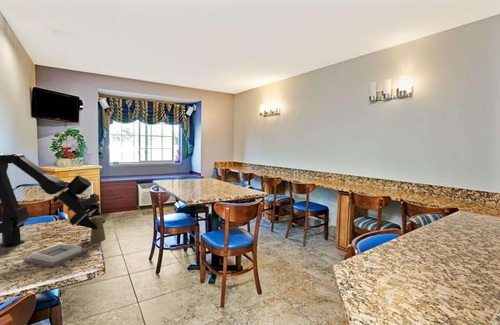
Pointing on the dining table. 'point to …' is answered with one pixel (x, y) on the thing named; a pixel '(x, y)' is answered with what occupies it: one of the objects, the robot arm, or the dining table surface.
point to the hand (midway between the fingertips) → (100, 225)
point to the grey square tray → (55, 254)
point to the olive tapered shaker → (97, 230)
